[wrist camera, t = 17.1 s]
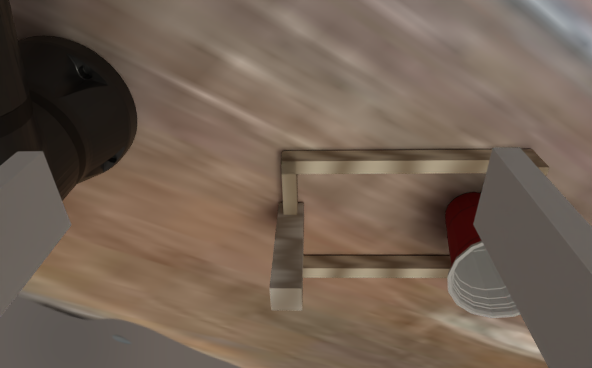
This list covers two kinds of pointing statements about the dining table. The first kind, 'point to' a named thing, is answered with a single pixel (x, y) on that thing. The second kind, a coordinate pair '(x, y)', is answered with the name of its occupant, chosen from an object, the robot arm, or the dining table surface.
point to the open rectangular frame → (295, 266)
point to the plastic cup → (473, 264)
